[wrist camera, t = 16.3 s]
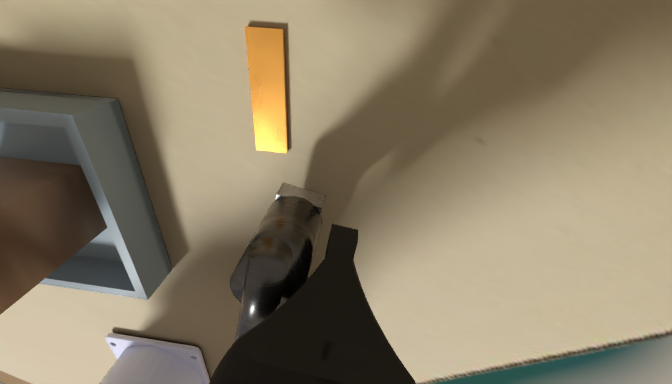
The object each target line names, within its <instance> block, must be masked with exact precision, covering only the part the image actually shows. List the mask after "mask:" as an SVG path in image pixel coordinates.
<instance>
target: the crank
mask: <svg viewBox="0 0 672 384" xmlns="http://www.w3.org/2000/svg"><path fill="white" fill-rule="evenodd" d="M325 197H326V195H323V194H320V193H316V192H313V191H310V190H306V189H303V188H300V187H296V186H293V185H290V184H286V183H283V184H282V185H281V187H280V189H279V191H278V192H277V194H276V199H275V201H274V202H273V203H272V204H271V206H270V208H269V209H268V211H267V213H266V215H265V217H264V218H263V220H262V222H261V224H260V226H259V227H258V229H257V231H256V233H255V235H254V236H253V238H252V240H251V242H250V243H249V245H248V247H247V249H246V251H245V252H244V254H243V256H242V258H241V260H240V261H239V263H238V265H237V267H236V269H235V270H234V272H233V274H232V276H231V278H230V288H231V290H232V292H233V294H234V296H235V297H236V298H237V299H238V300H239V301H240V302H241V307H240V314H239V320H238V327H237V333H236V340H237V339H238V338H239V337H240V336H242V335H243V334H245V333H246V332H248V331H249V330H250V329H252V328H253V327H255V326H256V325H258V324H259V323H260V322H262V321H263V320H264V319H266V318H267V317H268V316H269V315H271V314H272V313H273V312H274V311H275V310H277V309H278V308H279V307H280V306H282V305H283V304H284V303H285V302H286V301H287V300H288V299H289V298H290V297H291V296H292V295H293V294H294V293H295V292H296V291H297V290H299V288H300V287H301V286H302V285H303V284H304V283H305V282H306V279H307V276H308V272H309V268H310V265H311V261H312V258H313V254H314V251H315V247H316V243H317V240H318V236H319V233H320V229H321V225H322V218H321V215H320V213H321V210H322V207H323V203H324V200H325Z"/></svg>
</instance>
